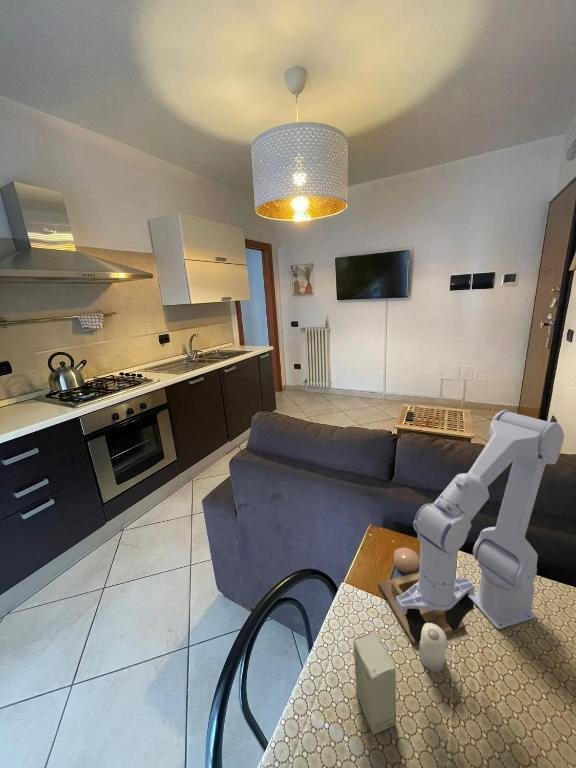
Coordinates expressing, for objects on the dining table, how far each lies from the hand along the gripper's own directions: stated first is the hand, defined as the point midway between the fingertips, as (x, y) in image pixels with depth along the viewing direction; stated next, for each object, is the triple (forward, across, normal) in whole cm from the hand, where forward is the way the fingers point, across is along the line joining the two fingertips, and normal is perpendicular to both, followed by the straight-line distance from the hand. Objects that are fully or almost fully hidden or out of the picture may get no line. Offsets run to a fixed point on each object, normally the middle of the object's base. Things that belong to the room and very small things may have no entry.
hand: (433, 631), depth 58 cm
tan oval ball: (+7, -8, -21) cm, 24 cm away
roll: (+7, 0, 0) cm, 7 cm away
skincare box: (+7, +14, +4) cm, 16 cm away
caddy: (+7, -4, -10) cm, 13 cm away
